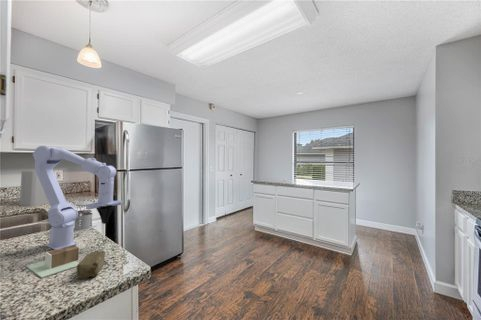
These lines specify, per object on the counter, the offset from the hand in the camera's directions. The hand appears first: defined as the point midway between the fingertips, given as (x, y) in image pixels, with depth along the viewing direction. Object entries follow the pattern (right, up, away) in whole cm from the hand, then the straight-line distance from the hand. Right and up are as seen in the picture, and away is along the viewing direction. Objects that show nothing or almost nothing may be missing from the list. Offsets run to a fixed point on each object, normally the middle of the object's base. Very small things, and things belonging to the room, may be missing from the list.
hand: (104, 223), depth 96 cm
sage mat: (-5, -9, -20) cm, 23 cm away
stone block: (+10, -10, -23) cm, 27 cm away
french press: (-27, -10, +23) cm, 36 cm away
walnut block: (-2, -7, -15) cm, 16 cm away
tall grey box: (-110, -9, +83) cm, 138 cm away
